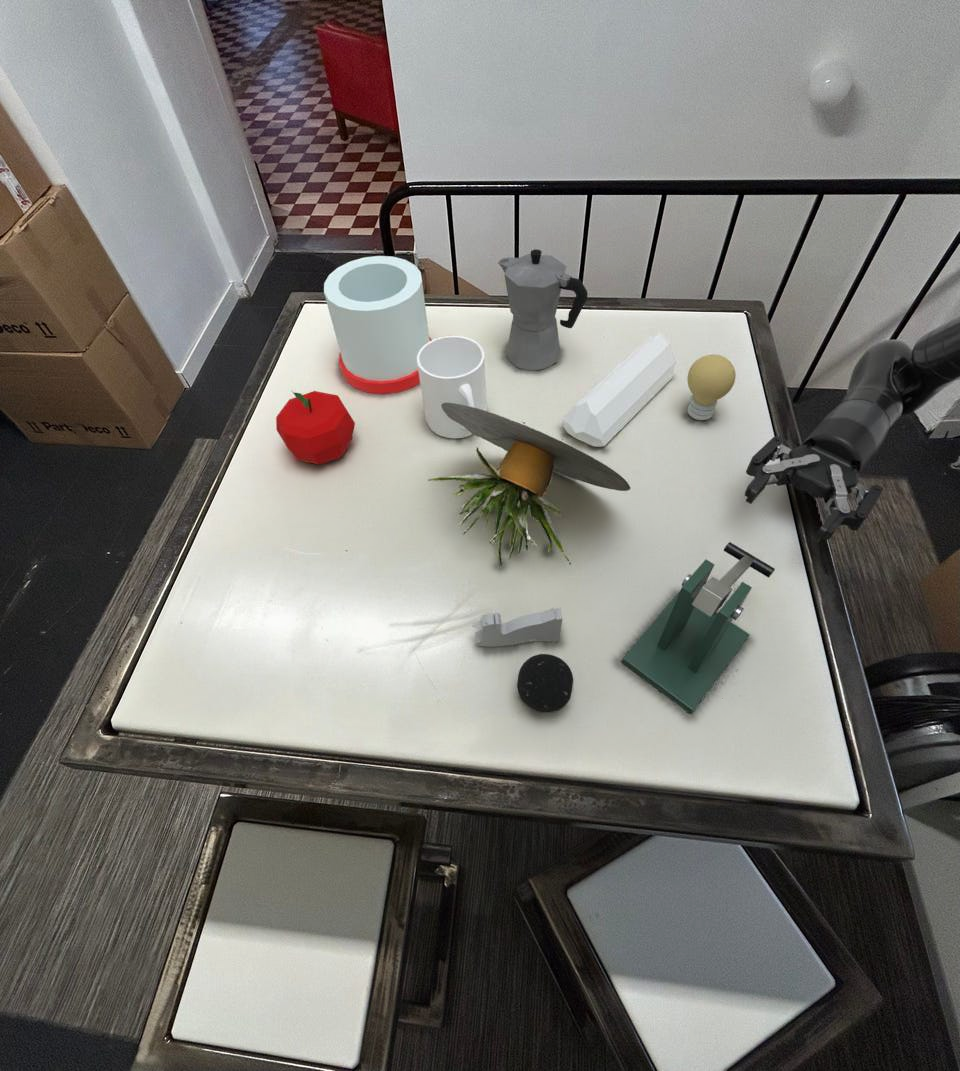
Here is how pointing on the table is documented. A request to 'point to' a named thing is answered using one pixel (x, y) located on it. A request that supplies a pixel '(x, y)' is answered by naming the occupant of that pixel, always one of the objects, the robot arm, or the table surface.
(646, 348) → the crystal
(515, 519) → the upside-down potted plant
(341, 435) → the apple
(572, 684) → the billiard ball
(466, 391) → the mug
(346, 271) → the container
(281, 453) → the table surface
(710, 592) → the switch lever
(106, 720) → the table surface
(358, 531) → the table surface
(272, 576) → the table surface
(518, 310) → the coffeepot
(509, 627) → the grey tape dispenser
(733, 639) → the switch bracket
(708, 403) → the light bulb
